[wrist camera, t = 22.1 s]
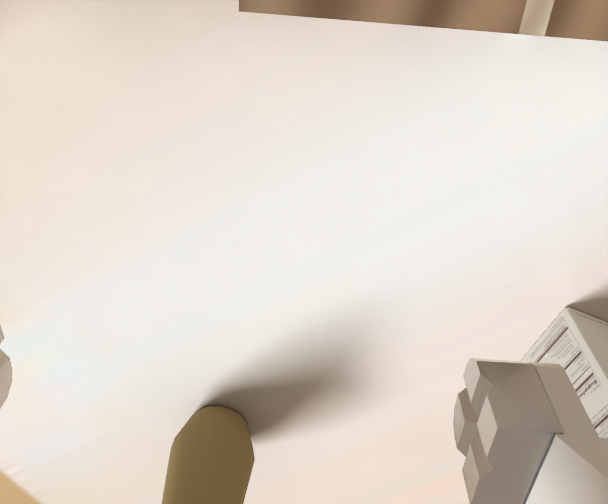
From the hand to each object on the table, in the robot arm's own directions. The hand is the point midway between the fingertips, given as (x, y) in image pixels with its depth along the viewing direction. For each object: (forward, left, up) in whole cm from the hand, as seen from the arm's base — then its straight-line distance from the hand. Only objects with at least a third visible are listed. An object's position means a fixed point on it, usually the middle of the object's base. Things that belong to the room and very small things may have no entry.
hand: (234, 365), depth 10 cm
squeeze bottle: (-6, -39, -33) cm, 52 cm away
